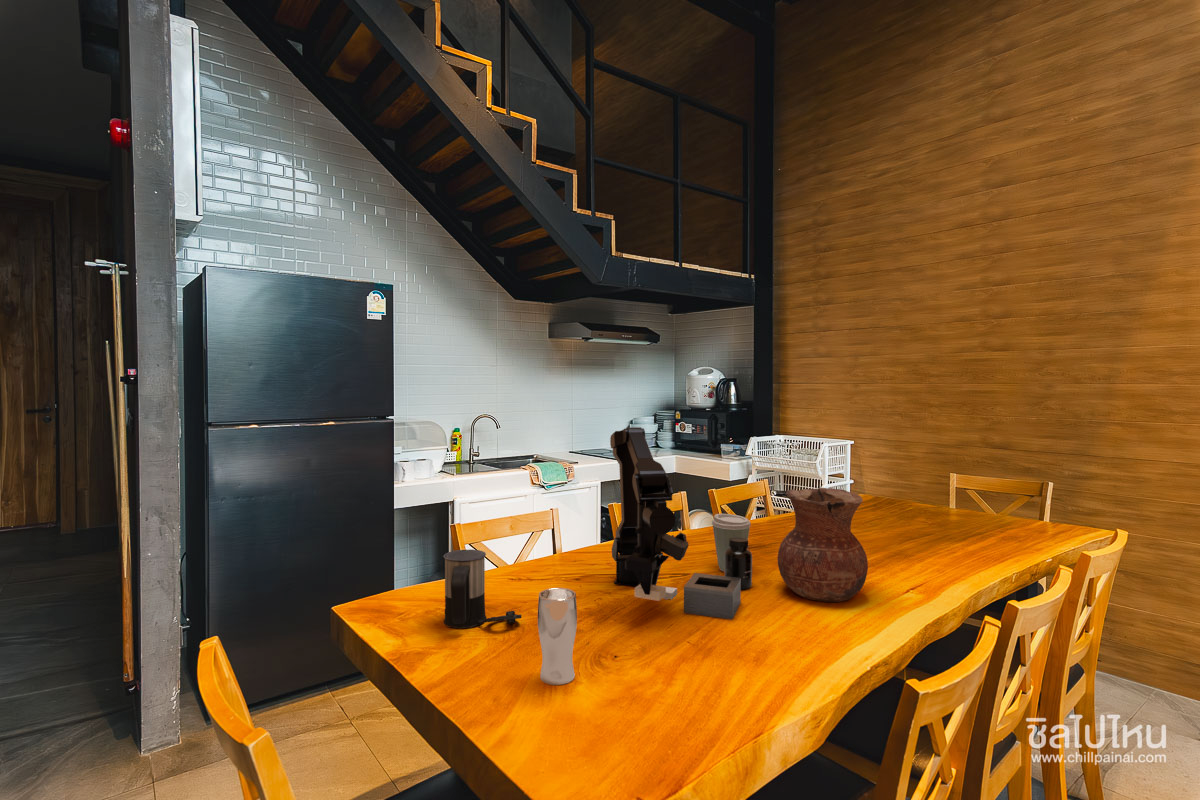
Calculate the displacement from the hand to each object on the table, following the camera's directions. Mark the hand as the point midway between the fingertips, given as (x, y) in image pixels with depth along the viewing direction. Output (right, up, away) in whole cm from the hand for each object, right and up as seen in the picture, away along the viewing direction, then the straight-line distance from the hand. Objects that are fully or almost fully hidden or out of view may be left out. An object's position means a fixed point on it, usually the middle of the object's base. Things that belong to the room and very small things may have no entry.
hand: (650, 591), depth 145 cm
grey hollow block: (+15, -5, +2) cm, 15 cm away
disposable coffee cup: (+25, -4, +31) cm, 40 cm away
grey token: (+4, -5, +11) cm, 12 cm away
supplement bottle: (+24, -4, +18) cm, 30 cm away
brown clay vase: (+43, -4, +12) cm, 45 cm away
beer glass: (-19, -6, -32) cm, 38 cm away
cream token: (0, -1, 0) cm, 1 cm away
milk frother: (-37, -5, -7) cm, 38 cm away
